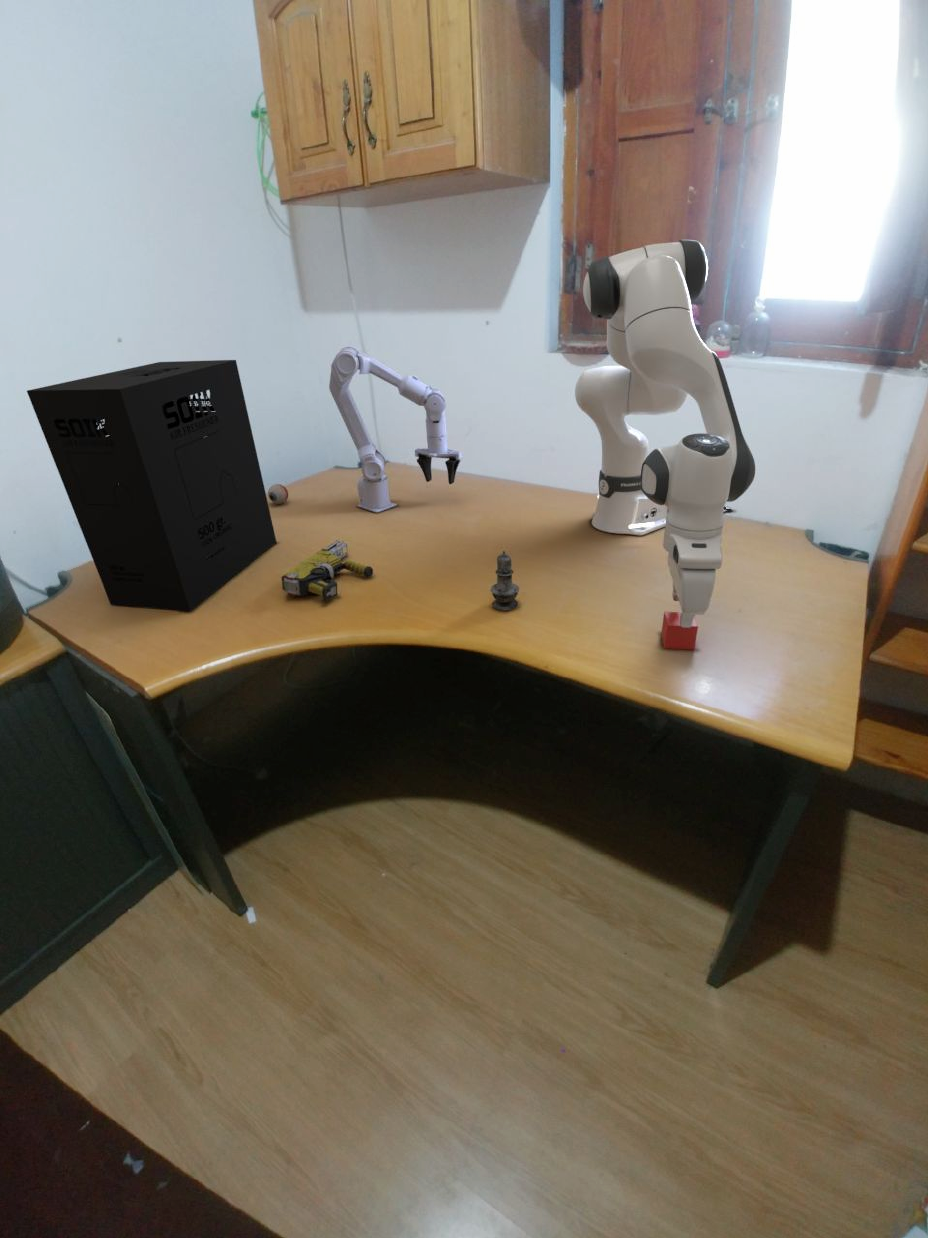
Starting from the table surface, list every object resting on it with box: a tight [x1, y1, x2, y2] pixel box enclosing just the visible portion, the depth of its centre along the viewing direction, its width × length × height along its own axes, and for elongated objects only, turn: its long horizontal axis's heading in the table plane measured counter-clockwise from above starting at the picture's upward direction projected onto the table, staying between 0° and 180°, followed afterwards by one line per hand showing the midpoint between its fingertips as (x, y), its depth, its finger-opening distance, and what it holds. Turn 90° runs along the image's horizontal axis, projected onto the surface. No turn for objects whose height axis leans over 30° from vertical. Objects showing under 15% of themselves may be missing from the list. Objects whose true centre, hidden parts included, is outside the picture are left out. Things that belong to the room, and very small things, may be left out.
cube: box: [660, 611, 699, 650], centre depth 108 cm, size 5×5×5 cm
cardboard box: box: [26, 359, 277, 612], centre depth 135 cm, size 38×20×45 cm, turn 167°
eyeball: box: [267, 483, 289, 505], centre depth 187 cm, size 6×6×6 cm
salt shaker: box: [490, 550, 520, 611], centre depth 121 cm, size 6×6×12 cm
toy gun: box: [281, 539, 374, 603], centre depth 138 cm, size 5×24×15 cm
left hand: (440, 481), depth 179 cm, fingers open, 7 cm apart
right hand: (681, 612), depth 106 cm, fingers open, 8 cm apart
